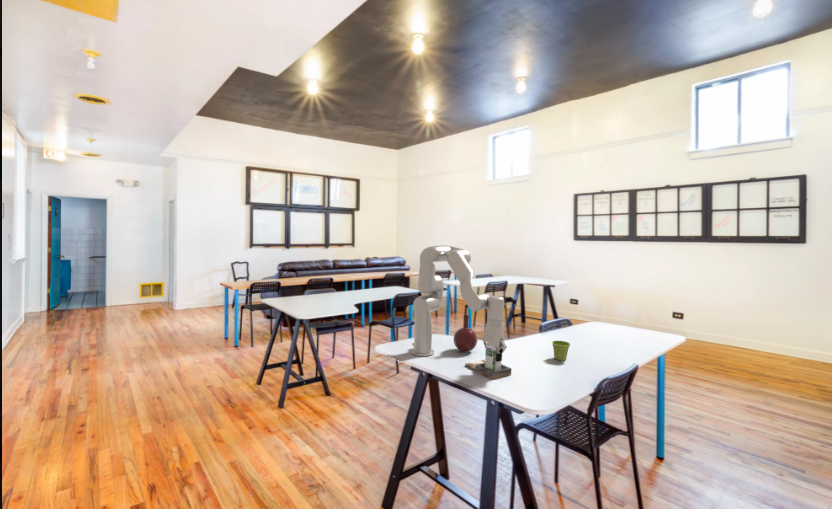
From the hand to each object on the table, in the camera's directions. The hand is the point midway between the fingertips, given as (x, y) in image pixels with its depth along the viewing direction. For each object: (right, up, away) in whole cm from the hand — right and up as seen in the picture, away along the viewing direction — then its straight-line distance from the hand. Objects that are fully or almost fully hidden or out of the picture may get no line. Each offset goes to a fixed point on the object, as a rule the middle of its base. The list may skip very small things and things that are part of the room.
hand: (493, 358), depth 204 cm
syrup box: (0, -6, +1) cm, 6 cm away
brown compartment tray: (-2, -7, +4) cm, 8 cm away
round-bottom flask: (-10, -4, +33) cm, 35 cm away
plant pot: (+40, -6, +24) cm, 48 cm away
